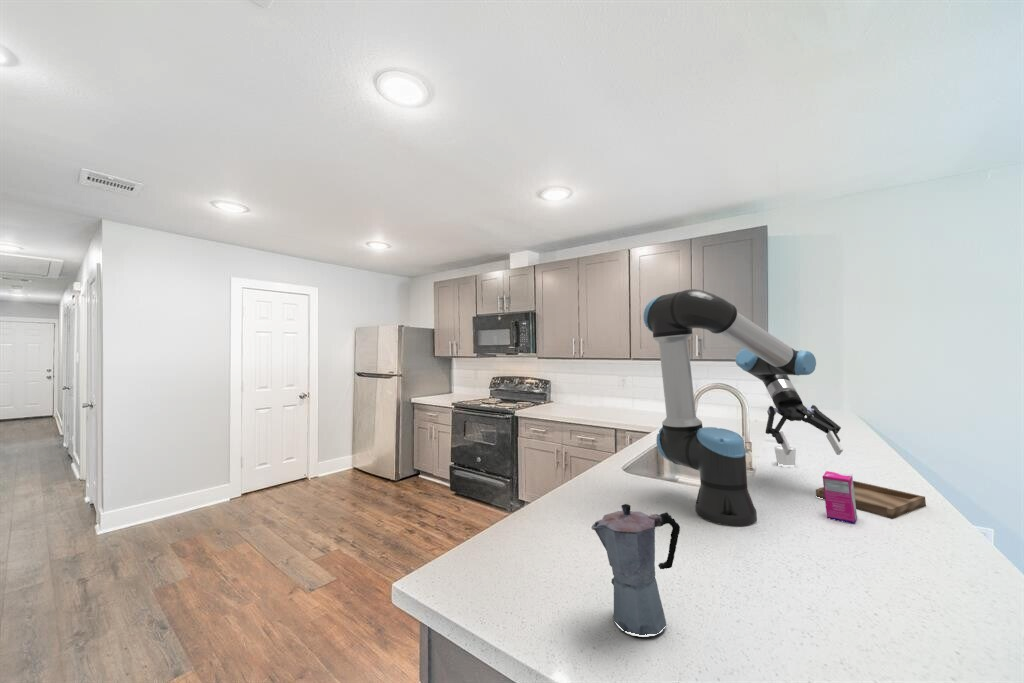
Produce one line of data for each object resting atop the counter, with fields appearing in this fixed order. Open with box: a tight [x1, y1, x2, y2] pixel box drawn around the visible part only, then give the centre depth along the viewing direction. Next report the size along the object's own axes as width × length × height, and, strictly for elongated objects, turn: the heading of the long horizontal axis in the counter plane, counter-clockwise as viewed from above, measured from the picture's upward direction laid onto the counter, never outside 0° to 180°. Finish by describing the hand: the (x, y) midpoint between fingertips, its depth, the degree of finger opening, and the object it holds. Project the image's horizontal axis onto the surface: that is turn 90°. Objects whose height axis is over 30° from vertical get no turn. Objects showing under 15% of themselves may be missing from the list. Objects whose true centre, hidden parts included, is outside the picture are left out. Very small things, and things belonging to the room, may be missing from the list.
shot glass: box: [774, 445, 797, 466], centre depth 152 cm, size 7×7×7 cm
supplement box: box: [822, 470, 858, 525], centre depth 104 cm, size 6×6×12 cm
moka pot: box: [591, 503, 681, 635], centre depth 68 cm, size 10×15×20 cm, turn 95°
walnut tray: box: [815, 480, 927, 520], centre depth 114 cm, size 18×18×2 cm
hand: (814, 452), depth 115 cm, fingers open, 13 cm apart
